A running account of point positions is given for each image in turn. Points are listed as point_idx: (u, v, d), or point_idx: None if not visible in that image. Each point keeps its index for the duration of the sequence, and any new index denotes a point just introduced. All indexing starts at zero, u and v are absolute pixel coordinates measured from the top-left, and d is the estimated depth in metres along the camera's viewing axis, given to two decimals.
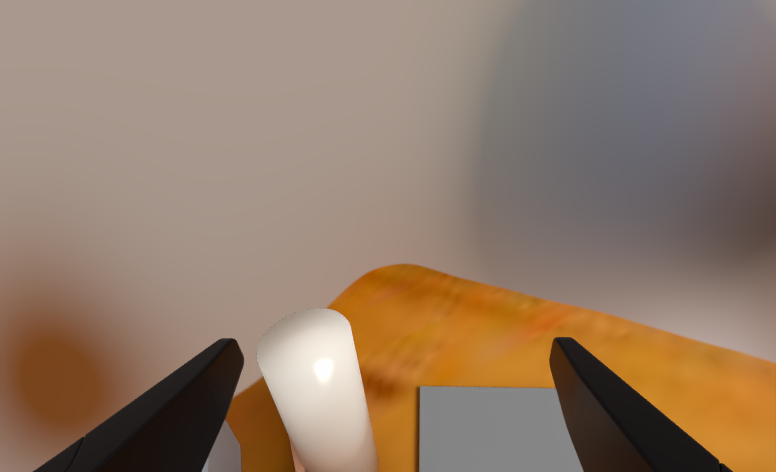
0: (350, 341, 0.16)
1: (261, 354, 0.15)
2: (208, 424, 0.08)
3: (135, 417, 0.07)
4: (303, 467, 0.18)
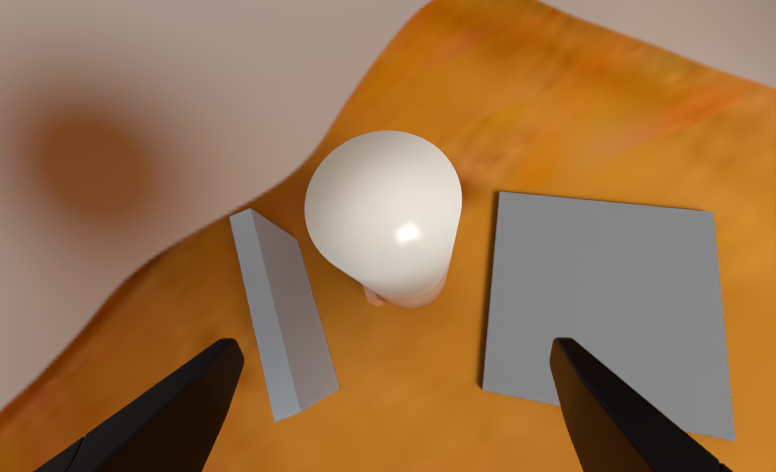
0: (460, 210, 0.09)
1: (313, 222, 0.10)
2: (208, 424, 0.08)
3: (135, 417, 0.07)
4: (373, 291, 0.17)
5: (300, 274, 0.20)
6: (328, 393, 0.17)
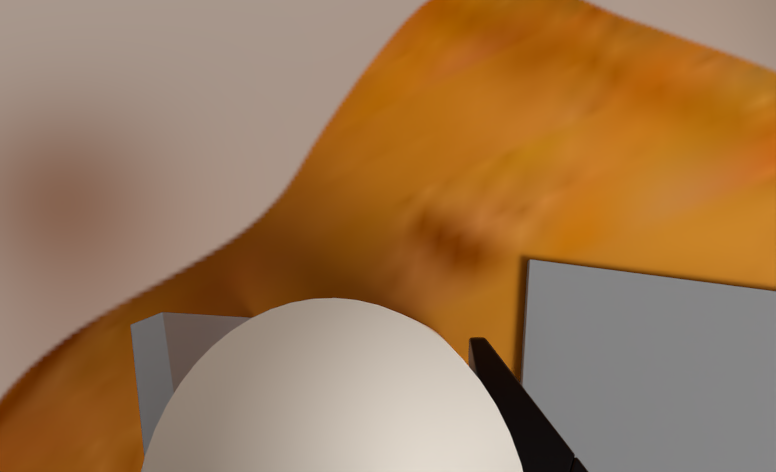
0: None
1: None
2: None
3: None
4: None
5: None
6: None
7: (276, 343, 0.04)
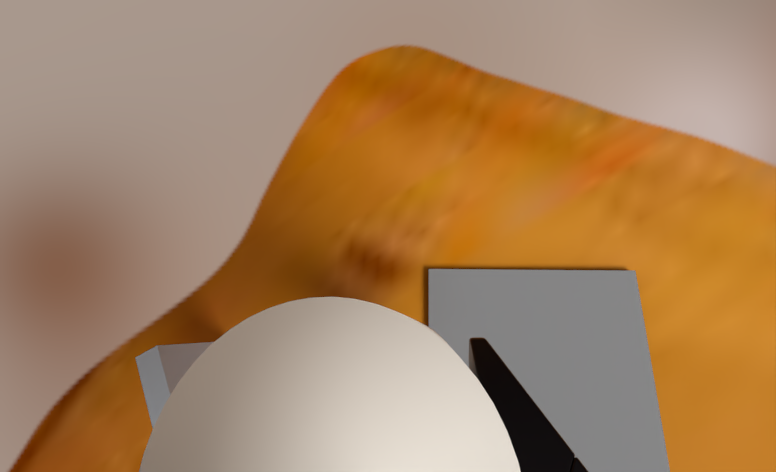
0: None
1: None
2: None
3: None
4: None
5: None
6: None
7: (274, 342, 0.04)
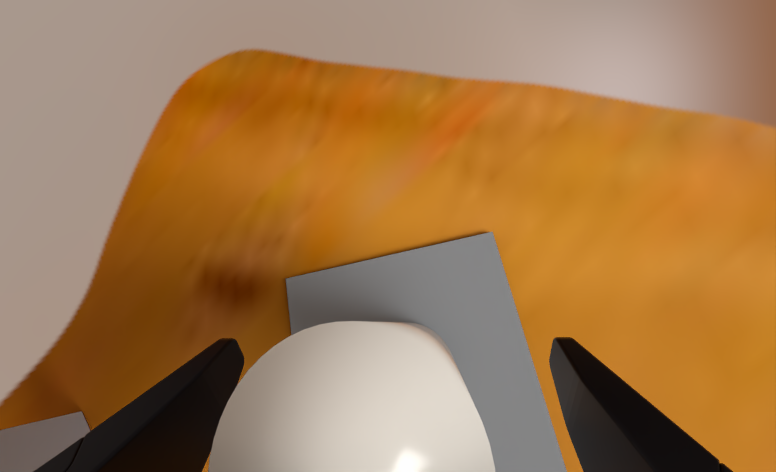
0: None
1: None
2: (208, 424, 0.08)
3: (135, 417, 0.07)
4: None
5: None
6: None
7: (309, 355, 0.06)
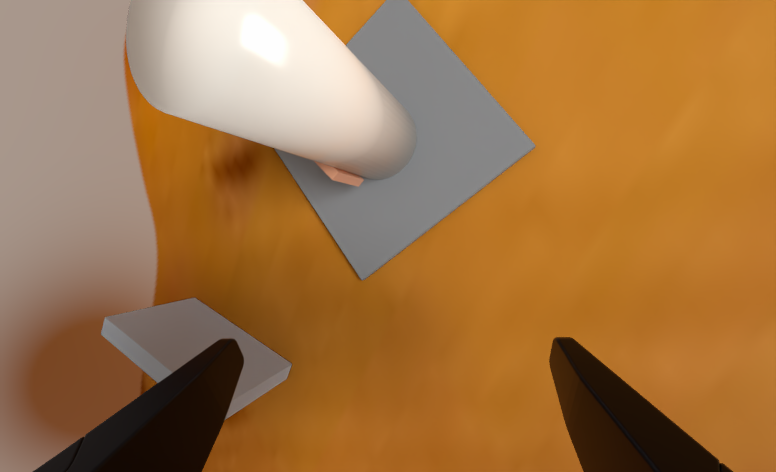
0: None
1: (146, 87, 0.09)
2: (208, 424, 0.08)
3: (135, 417, 0.07)
4: (332, 167, 0.16)
5: (204, 319, 0.23)
6: (269, 376, 0.20)
7: None
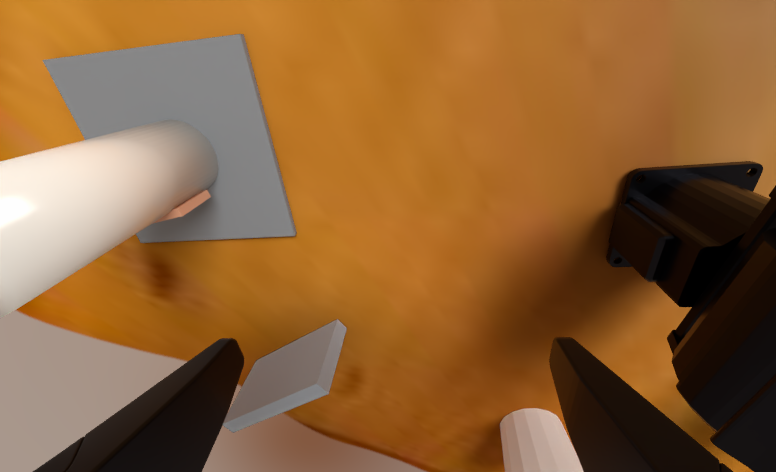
0: None
1: None
2: (208, 424, 0.08)
3: (135, 417, 0.07)
4: (172, 210, 0.18)
5: (271, 361, 0.28)
6: (330, 339, 0.25)
7: None
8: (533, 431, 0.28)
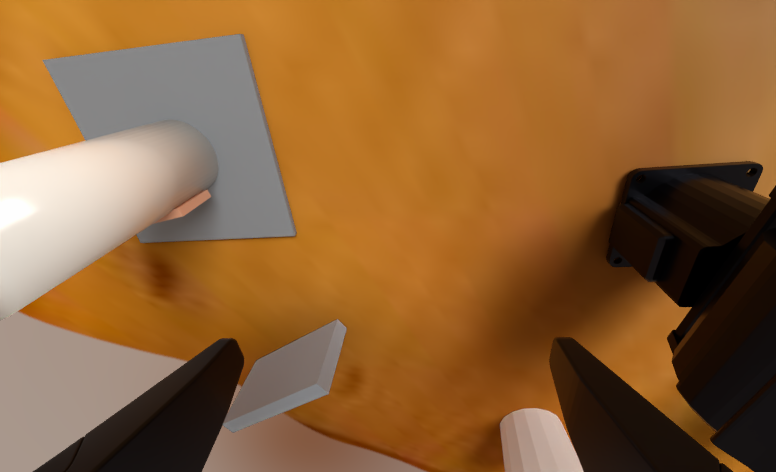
0: None
1: None
2: (208, 424, 0.08)
3: (135, 417, 0.07)
4: (172, 210, 0.18)
5: (271, 361, 0.28)
6: (330, 339, 0.25)
7: None
8: (533, 431, 0.28)
